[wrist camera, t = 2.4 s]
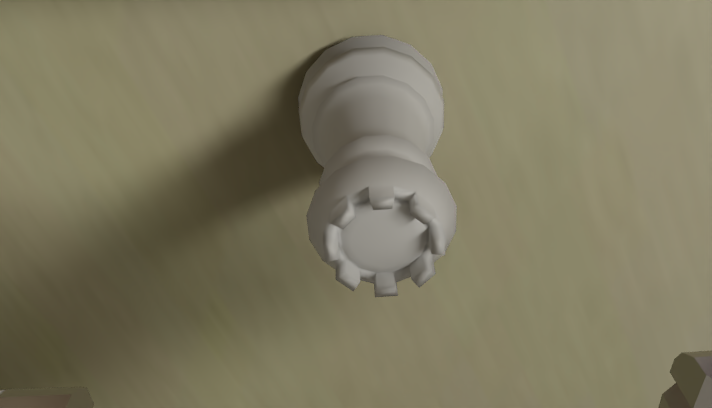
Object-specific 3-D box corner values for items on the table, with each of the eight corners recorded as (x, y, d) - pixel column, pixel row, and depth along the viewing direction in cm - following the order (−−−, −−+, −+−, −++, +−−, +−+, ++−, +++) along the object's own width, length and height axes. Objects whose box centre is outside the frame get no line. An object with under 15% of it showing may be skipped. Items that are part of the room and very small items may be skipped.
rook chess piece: (269, 88, 19) (228, 233, 12) (386, -2, 18) (412, 105, 11) (356, 187, 21) (362, 360, 14) (468, 113, 20) (534, 264, 13)
